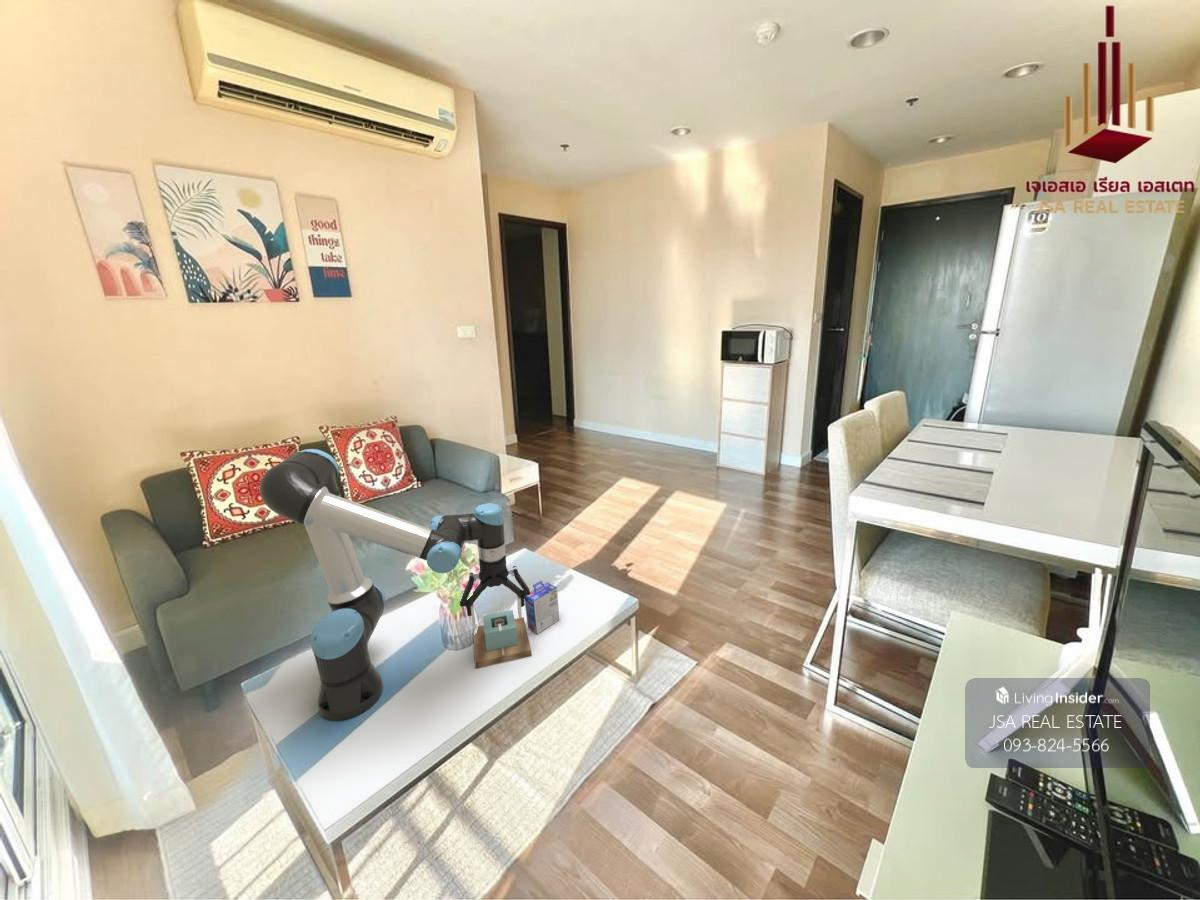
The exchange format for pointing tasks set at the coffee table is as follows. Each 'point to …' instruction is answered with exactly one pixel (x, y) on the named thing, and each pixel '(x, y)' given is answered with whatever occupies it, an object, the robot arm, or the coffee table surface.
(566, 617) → the coffee table surface
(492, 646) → the gray-green box with recess
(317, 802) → the coffee table surface
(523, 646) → the brown wooden base
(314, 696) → the coffee table surface
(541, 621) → the ink cartridge box
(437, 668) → the coffee table surface
